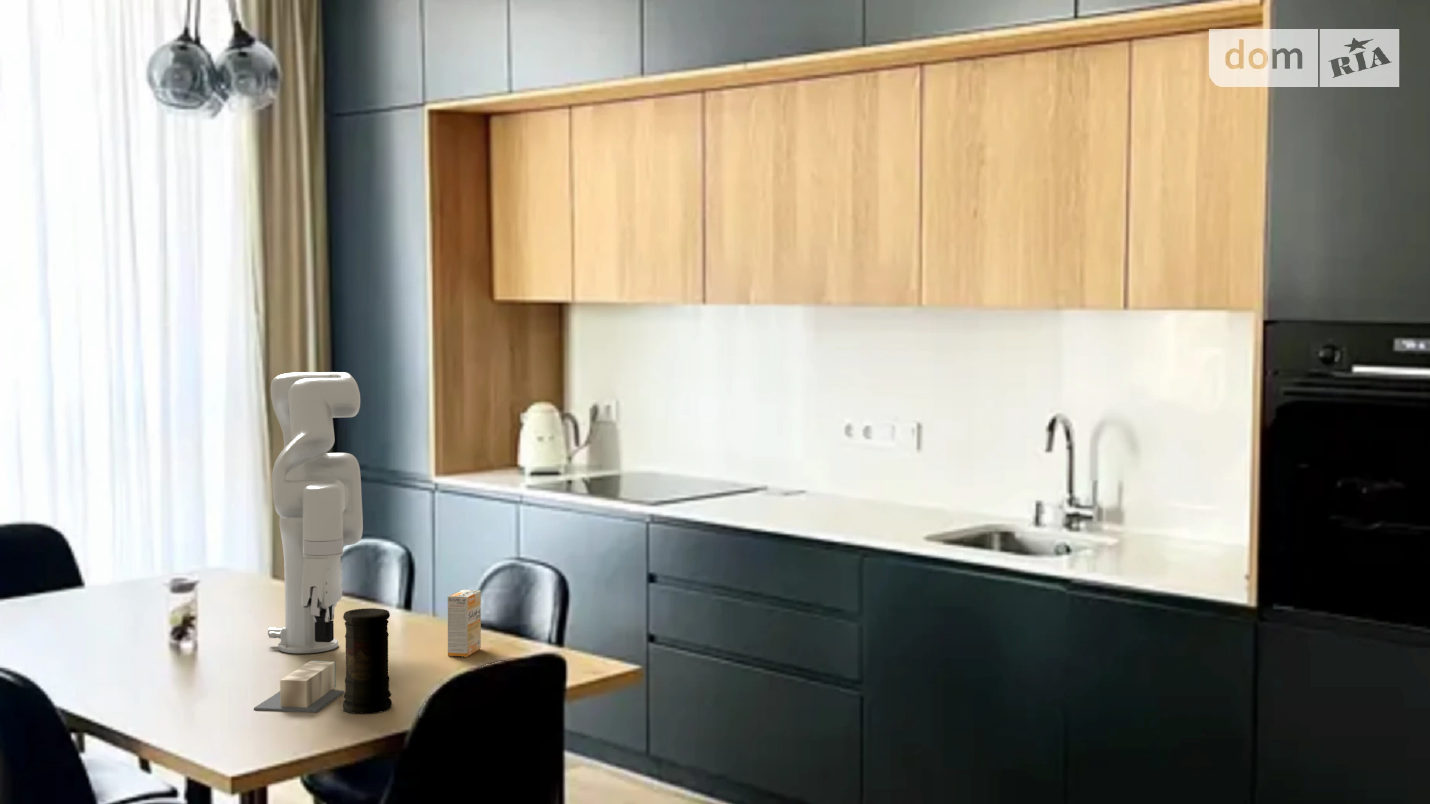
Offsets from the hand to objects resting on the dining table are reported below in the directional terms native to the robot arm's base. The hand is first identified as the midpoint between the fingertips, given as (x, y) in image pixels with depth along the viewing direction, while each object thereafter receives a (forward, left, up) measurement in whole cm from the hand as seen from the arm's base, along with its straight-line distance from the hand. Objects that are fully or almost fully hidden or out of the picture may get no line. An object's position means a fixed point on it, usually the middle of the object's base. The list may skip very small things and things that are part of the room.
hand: (324, 641), depth 289 cm
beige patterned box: (0, 0, -6) cm, 6 cm away
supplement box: (+19, +32, -10) cm, 38 cm away
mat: (-1, -10, -9) cm, 14 cm away
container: (+13, -13, -10) cm, 21 cm away
